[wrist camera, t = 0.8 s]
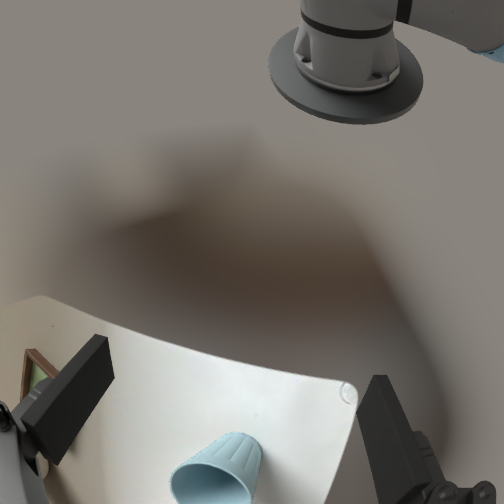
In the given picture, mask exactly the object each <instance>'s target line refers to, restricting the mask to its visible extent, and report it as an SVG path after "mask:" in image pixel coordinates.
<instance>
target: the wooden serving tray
mask: <svg viewBox="0 0 504 504" xmlns="http://www.w3.org/2000/svg"><path fill="white" fill-rule="evenodd" d="M58 374H59V371H58V370H56V369H55V368H54V367H53V366H52V365H51V364H50V363H49V362H48V361H47V360H46V359H45V358H44V357H43V356H42V355H41V354H40V353H39V352H38V351H37V350H36V349H25V356H24V363H23V372H22V382H21V395H20V402H21V401H22V399H23V398H24V397H25V396H26V395H28V393H29V392H30V391H31V390H32V388H33V387H34V386H35V385H36V384H37V383H38V382H39V381H41V380H43V379H45V378H46V377H49V378H51V379H54V378H55V377H56V376H57V375H58Z"/></svg>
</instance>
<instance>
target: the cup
mask: <svg viewBox="0 0 504 504" xmlns="http://www.w3.org/2000/svg"><path fill="white" fill-rule="evenodd" d="M261 456H262V453H261V449H260V446H259V444H258V443H257V442H256V441H255V440H254V439H253V438H252V437H251V436H249V435H246V434H244V433H239V432H231V433H228V434H225V435H223V436H222V437H220V438H219V439H217V440H216V441H215V442H213V443H212V444H210V445H209V446H208V447H206V448H205V449H203V450H202V451H201V452H199V453H198V454H196V455H195V456H193V457H192V458H191V459H189V460H187V461H186V462H184V463H183V464H181V465H180V466H178V467H177V468H176V469H175V470H174V471H173V472H172V474H171V476H170V481H169V485H170V490H171V493H172V495H173V497H174V499H175V500H176V501H177V503H178V504H252V502H253V497H254V492H255V487H256V482H257V477H258V472H259V467H260V461H261Z"/></svg>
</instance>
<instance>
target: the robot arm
mask: <svg viewBox="0 0 504 504" xmlns="http://www.w3.org/2000/svg"><path fill="white" fill-rule="evenodd" d="M299 3H300V9H301V15H302V19H301V23H300V26H299V30H298V33H297V37H296V40H295V44H294V49H293V53H294V60H295V65H296V67H297V69H298V71H299V72H300V73H301V75H302V76H303V77H304V78H305V79H307V80H308V81H309V82H311V83H312V84H314V85H316V86H318V87H320V88H322V89H325V90H328V91H331V92H334V93H339V94H344V95H355V96H360V95H370V94H375V93H379V92H381V91H384V90H385V89H387V88H389V87H390V86H391V85H392V84H393V83H394V82H395V80H396V79H397V76H398V74H399V68H400V59H399V54H398V49H397V45H396V41H395V37H394V33H393V21H394V20H395V21H398V22H402V23H405V24H408V25H411V26H414V27H417V28H420V29H423V30H426V31H429V32H431V33H434V34H436V35H439V36H442V37H444V38H447V39H449V40H451V41H454V42H456V43H458V44H460V45H463V46H465V47H467V49H468V50H470V51H471V52H473V53H476V54H479V55H483V56H485V57H488V58H489V59H491V60H493V61H496V62H500V63H504V0H299ZM114 378H115V377H114V372H113V366H112V361H111V355H110V349H109V342H108V337H105V336H101V335H98V334H95V335H94V336H93V337H92V338H91V339H90V340H89V341H88V342H87V343H86V344H85V345H84V346H83V347H82V348H81V349H80V351H79V352H78V353H77V354H76V355H75V356H74V357H73V358H72V359H71V360H70V361H69V362H68V364H67V365H66V366H65V367H64V368H63V369H62V370H61V371H60V372H59V374H58V375H57V376H56V377H55V378H54V379H51V378H49V377H46V378H45V379H43V380H41V381H39V382H38V383H37V384H36V385H35V386H34V387H33V388H32V390H31V391H30V392H29V393H28V395H26V396H25V397H24V398H23V399H22V401H21V402H20V403H19V404H18V405H17V406H16V407H15V409H14V410H13V411H12V412H11V413H10V411H9V409H8V407H7V406H6V405H5V403H3V402H1V401H0V504H49V501H48V498H47V494H46V490H45V487H44V483H43V479H42V474H41V470H40V465H39V460H38V458H37V454H38V452H39V451H40V453H41V454H42V456H43V457H44V458H45V459H46V460H48V461H50V462H52V463H54V464H55V465H57V466H58V465H59V463H60V461H61V460H62V458H63V457H64V455H65V453H66V452H67V450H68V449H69V447H70V445H71V444H72V442H73V441H74V439H75V437H76V436H77V434H78V433H79V431H80V430H81V428H82V427H83V425H84V423H85V422H86V420H87V419H88V417H89V416H90V414H91V413H92V411H93V410H94V408H95V407H96V405H97V404H98V402H99V401H100V399H101V398H102V396H103V395H104V393H105V392H106V390H107V389H108V387H109V386H110V384H111V383H112V381H113V380H114ZM356 414H357V418H358V421H359V425H360V429H361V432H362V436H363V440H364V444H365V447H366V451H367V455H368V459H369V463H370V467H371V471H372V476H373V480H374V484H375V488H376V493H377V497H378V502H379V504H496V489H495V487H494V485H493V484H492V483H490V482H488V481H481V482H479V483H478V484H477V485H475V486H474V487H473V488H458V487H457V486H456V485H455V484H454V483H452V482H450V481H446V480H445V478H444V476H443V473H442V470H441V468H440V466H439V464H438V461H437V459H436V456H435V455H434V452H433V449H432V448H431V445H430V443H429V440H428V438H427V437H426V436H425V435H424V434H423V433H422V432H421V431H415V432H412V430H411V427H410V425H409V423H408V420H407V418H406V416H405V413H404V411H403V409H402V407H401V404H400V403H399V400H398V398H397V396H396V394H395V391H394V389H393V387H392V385H391V383H390V380H389V378H388V376H387V375H373V377H372V380H371V382H370V384H369V387H368V389H367V391H366V393H365V395H364V397H363V399H362V402H361V404H360V406H359V408H358V410H357V412H356Z"/></svg>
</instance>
